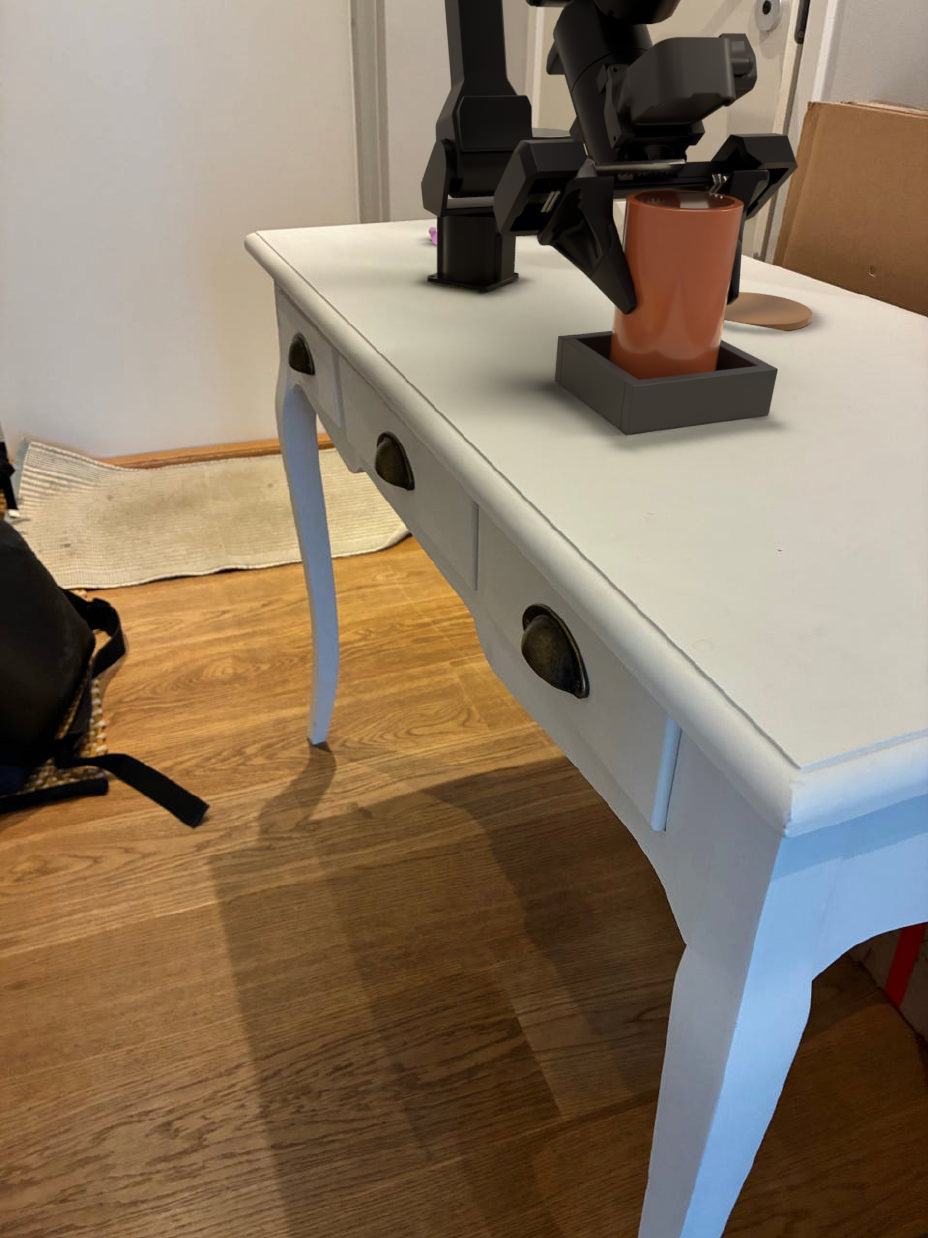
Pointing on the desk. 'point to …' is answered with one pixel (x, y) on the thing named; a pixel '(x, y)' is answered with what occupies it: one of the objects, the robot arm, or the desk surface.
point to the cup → (676, 281)
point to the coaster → (768, 311)
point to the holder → (663, 387)
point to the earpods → (433, 235)
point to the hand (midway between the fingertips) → (682, 306)
